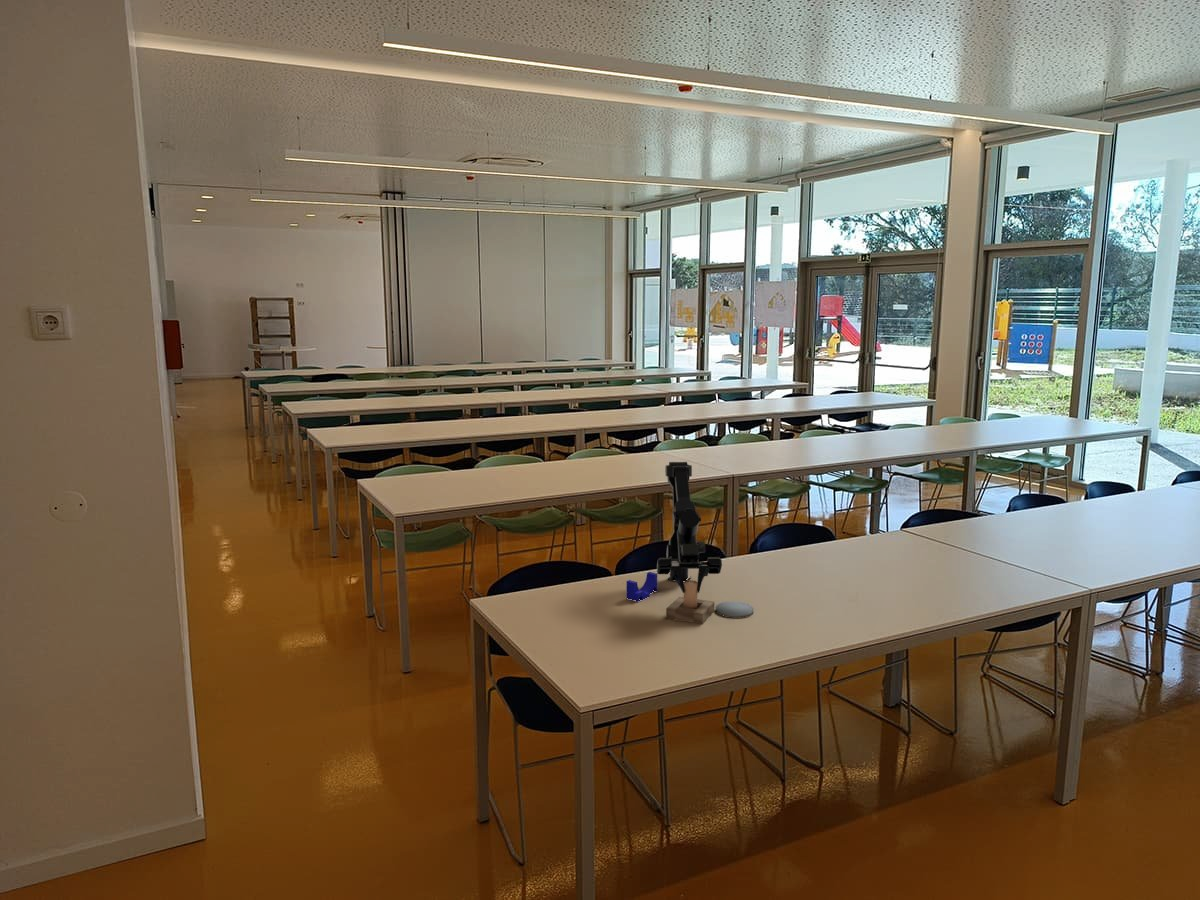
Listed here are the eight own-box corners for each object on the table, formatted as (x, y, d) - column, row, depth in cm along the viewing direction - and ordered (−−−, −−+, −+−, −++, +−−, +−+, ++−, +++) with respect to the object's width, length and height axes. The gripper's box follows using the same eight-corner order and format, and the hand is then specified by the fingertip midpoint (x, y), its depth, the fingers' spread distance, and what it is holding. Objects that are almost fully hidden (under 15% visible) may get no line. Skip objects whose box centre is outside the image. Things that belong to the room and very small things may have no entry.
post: (686, 608, 241) (686, 579, 239) (699, 610, 239) (699, 581, 237) (681, 613, 237) (681, 583, 235) (694, 615, 235) (695, 585, 234)
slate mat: (721, 602, 248) (722, 599, 248) (757, 607, 243) (757, 604, 243) (711, 614, 238) (711, 611, 238) (748, 620, 233) (748, 616, 233)
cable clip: (638, 603, 249) (638, 584, 248) (626, 599, 252) (626, 581, 251) (661, 592, 258) (661, 574, 257) (649, 589, 261) (649, 571, 260)
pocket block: (678, 606, 245) (679, 596, 245) (714, 611, 241) (714, 601, 240) (666, 618, 235) (666, 608, 235) (702, 623, 231) (702, 613, 230)
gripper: (657, 531, 238) (660, 579, 229) (721, 530, 238) (726, 579, 229) (655, 549, 247) (658, 597, 238) (717, 549, 247) (722, 596, 238)
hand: (691, 592), depth 235 cm, fingers closed on post, 4 cm apart
